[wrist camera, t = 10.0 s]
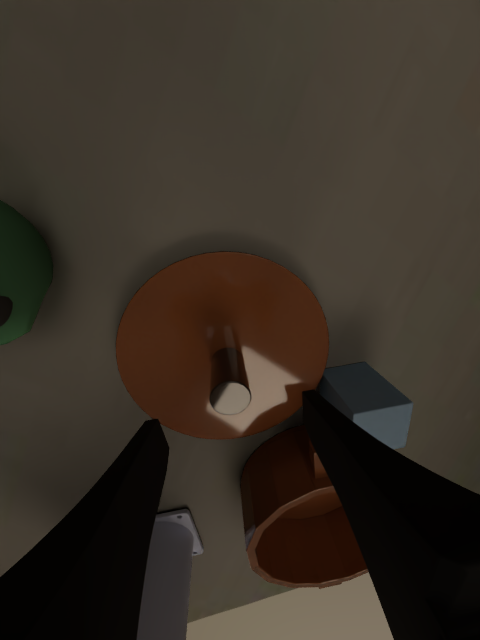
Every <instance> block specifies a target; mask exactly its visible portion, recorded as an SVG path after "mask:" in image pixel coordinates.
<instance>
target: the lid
mask: <svg viewBox="0 0 480 640" xmlns="http://www.w3.org/2000/svg"><path fill="white" fill-rule="evenodd" d="M328 352H329V334H328V327H327V323H326V318H325V316H324V313H323V311H322V308H321V306H320V304H319V302H318V301H317V299H316V297H315V296H314V294H313V293H312V292H311V290H310V289H309V288H308V287H307V285H306V284H305V283H304V282H302V281H301V280H300V279H299V278H298V277H297V276H296V275H295V274H293V273H292V272H290V271H289V270H287V269H286V268H285V267H283V266H281V265H279V264H277V263H275V262H273V261H271V260H269V259H266V258H263V257H260V256H257V255H253V254H248V253H242V252H231V251H218V252H208V253H203V254H198V255H194V256H190V257H188V258H185V259H182V260H180V261H177V262H175V263H173V264H171V265H170V266H168V267H166V268H164V269H162V270H161V271H159V272H158V273H157V274H155V275H154V276H153V277H151V278H150V279H149V280H148V281H147V282H146V283H145V284H144V285H143V286H142V287H141V288H140V289H139V290H138V291H137V292H136V294H135V295H134V296H133V298H132V299H131V301H130V302H129V303H128V305H127V307H126V309H125V311H124V313H123V315H122V318H121V321H120V324H119V328H118V332H117V339H116V358H117V364H118V369H119V372H120V375H121V378H122V381H123V383H124V385H125V387H126V389H127V391H128V392H129V394H130V395H131V397H132V398H133V400H134V401H135V402H136V403H137V404H138V405H139V407H140V408H141V409H142V410H143V411H144V412H146V413H147V414H148V415H149V416H150V417H152V418H153V419H159V422H160V424H162V425H164V426H166V427H168V428H170V429H172V430H174V431H177V432H180V433H182V434H185V435H189V436H193V437H198V438H205V439H234V438H241V437H246V436H250V435H254V434H257V433H259V432H262V431H265V430H267V429H269V428H271V427H274V426H276V425H277V424H279V423H281V422H282V421H284V420H286V419H287V418H288V417H290V416H291V415H292V414H294V413H295V412H296V411H297V410H298V409H299V408H300V407H301V406H303V403H302V391H307V390H312V389H314V390H315V389H316V387H317V386H318V384H319V382H320V380H321V378H322V375H323V373H324V370H325V367H326V363H327V358H328Z"/></svg>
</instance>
